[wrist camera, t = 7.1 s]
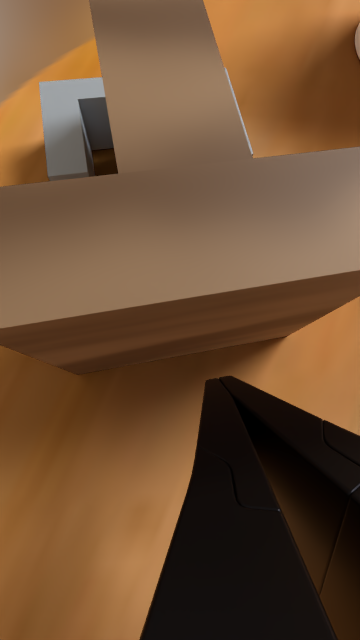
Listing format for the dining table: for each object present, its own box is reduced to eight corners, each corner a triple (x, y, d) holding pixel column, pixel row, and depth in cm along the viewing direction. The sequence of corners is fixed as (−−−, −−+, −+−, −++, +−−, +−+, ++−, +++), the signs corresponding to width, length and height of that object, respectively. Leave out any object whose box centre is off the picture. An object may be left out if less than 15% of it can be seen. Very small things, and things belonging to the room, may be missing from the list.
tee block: (287, 335, 17) (426, 259, 8) (77, 374, 16) (-30, 333, 7) (230, 145, 21) (284, -54, 12) (55, 163, 20) (-34, -45, 11)
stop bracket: (237, 196, 20) (253, 153, 17) (68, 217, 19) (47, 176, 15) (215, 120, 22) (225, 67, 18) (59, 135, 20) (39, 82, 17)
